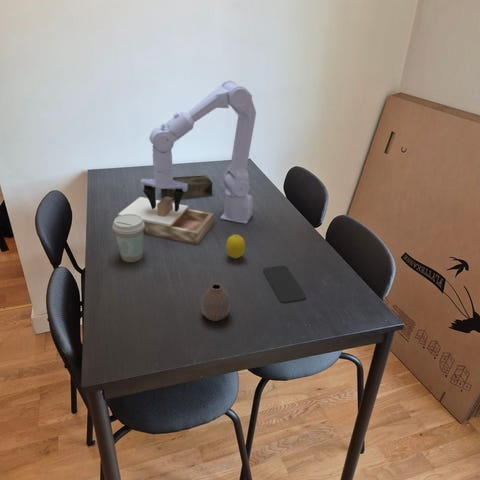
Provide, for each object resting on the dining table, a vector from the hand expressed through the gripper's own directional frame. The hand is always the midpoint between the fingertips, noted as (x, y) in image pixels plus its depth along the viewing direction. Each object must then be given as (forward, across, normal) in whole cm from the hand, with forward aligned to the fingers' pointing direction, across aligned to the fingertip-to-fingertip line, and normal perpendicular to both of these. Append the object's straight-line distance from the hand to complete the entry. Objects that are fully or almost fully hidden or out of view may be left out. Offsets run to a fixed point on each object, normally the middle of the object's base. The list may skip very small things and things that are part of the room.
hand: (165, 208), depth 125 cm
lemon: (+6, -25, +14) cm, 29 cm away
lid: (+2, +4, -1) cm, 4 cm away
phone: (+7, -40, +23) cm, 47 cm away
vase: (+6, -25, +39) cm, 47 cm away
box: (+6, -5, +1) cm, 8 cm away
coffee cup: (+6, +4, +20) cm, 21 cm away
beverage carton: (+7, 0, -26) cm, 27 cm away
